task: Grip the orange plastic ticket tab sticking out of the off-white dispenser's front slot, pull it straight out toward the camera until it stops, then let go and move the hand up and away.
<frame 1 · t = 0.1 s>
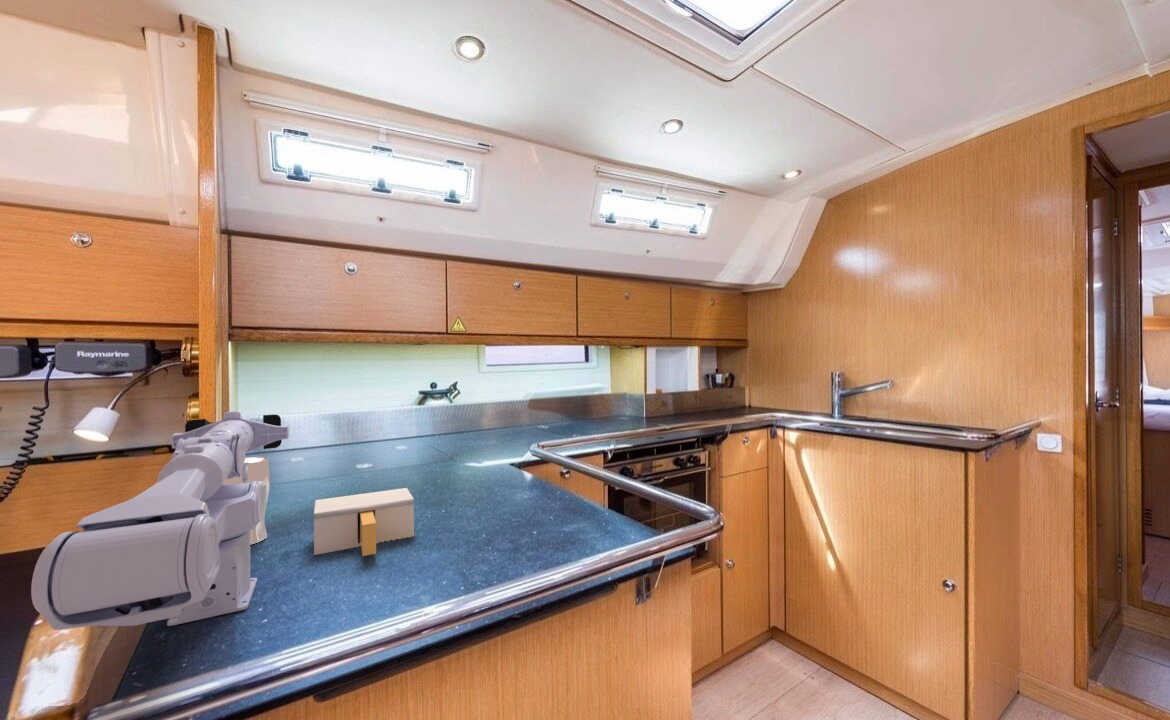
hand: (243, 426, 79), 22 cm above the countertop, tool horizontal, fingers open, 7 cm apart
beer glass: (246, 542, 82), on the countertop
dispenser: (364, 537, 84), on the countertop
ticket tab: (366, 526, 80), point 4 cm above the countertop, slide at 0.0 cm
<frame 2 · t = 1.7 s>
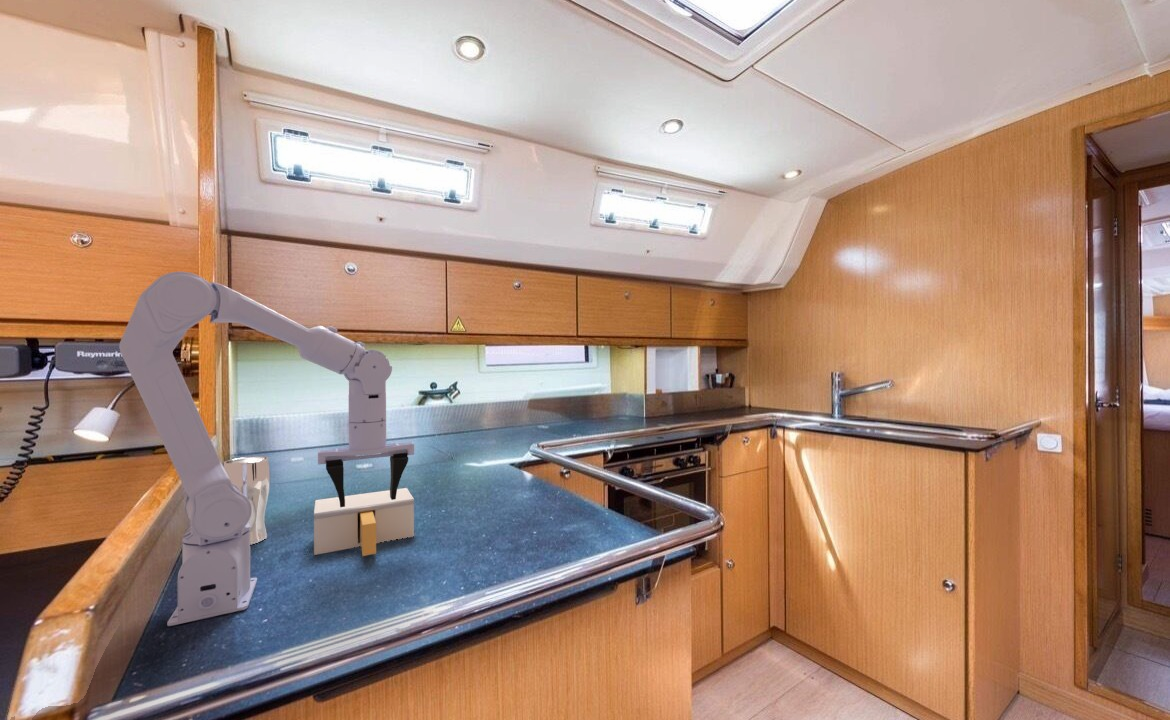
hand: (368, 501, 76), 9 cm above the countertop, tool pointing down, fingers open, 7 cm apart
nothing on the countertop moved.
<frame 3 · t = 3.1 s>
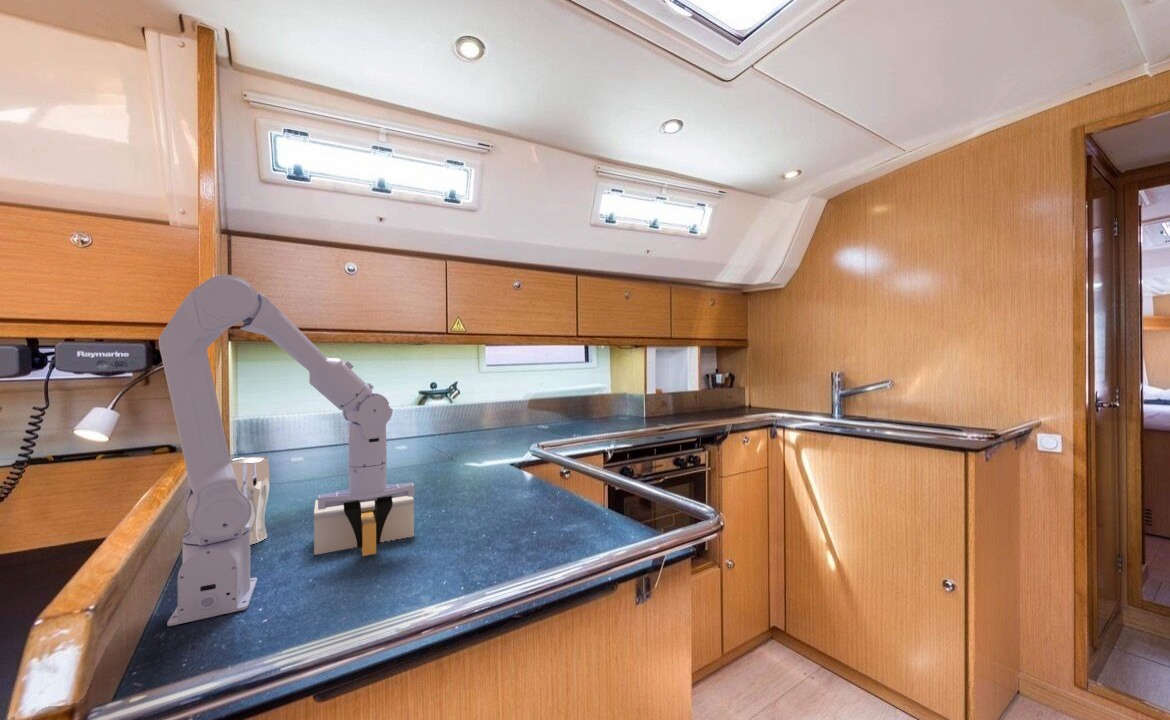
hand: (368, 544, 76), 2 cm above the countertop, tool pointing down, fingers closed on ticket tab, 2 cm apart
ticket tab: (366, 526, 80), point 4 cm above the countertop, slide at 0.0 cm, touching gripper
everything else where it was.
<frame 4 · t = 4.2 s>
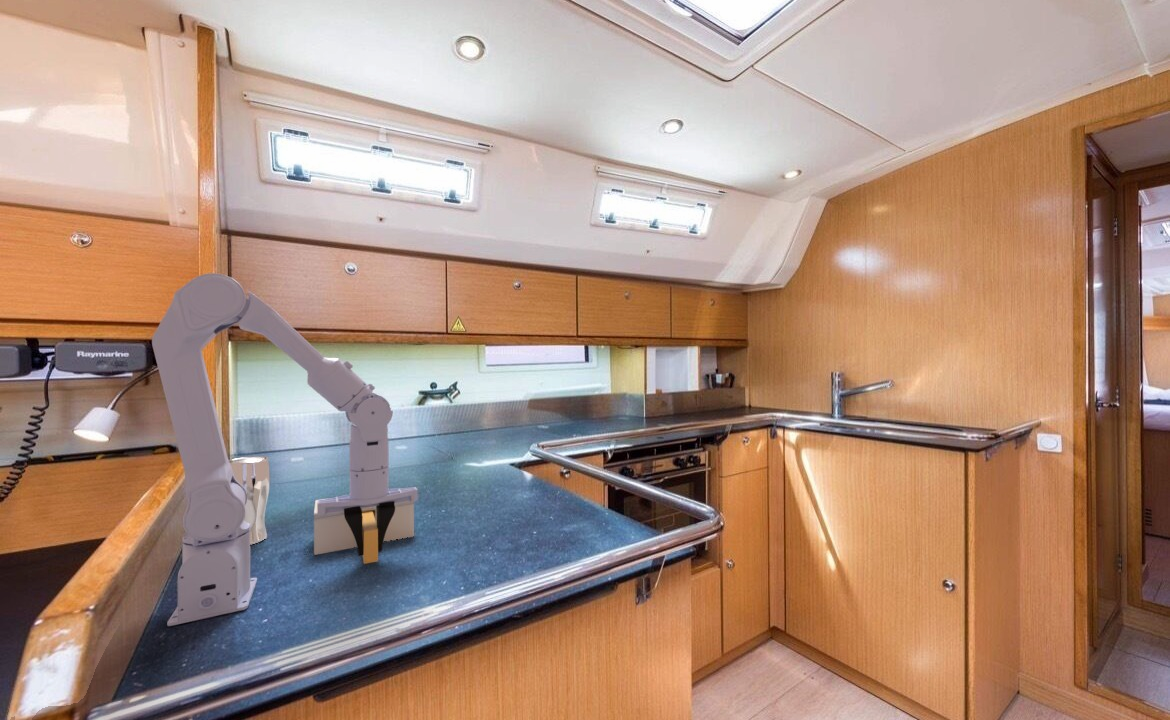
hand: (369, 551, 73), 2 cm above the countertop, tool pointing down, fingers closed on ticket tab, 2 cm apart
ticket tab: (367, 532, 77), point 4 cm above the countertop, slide at 3.4 cm, touching gripper
everything else where it was.
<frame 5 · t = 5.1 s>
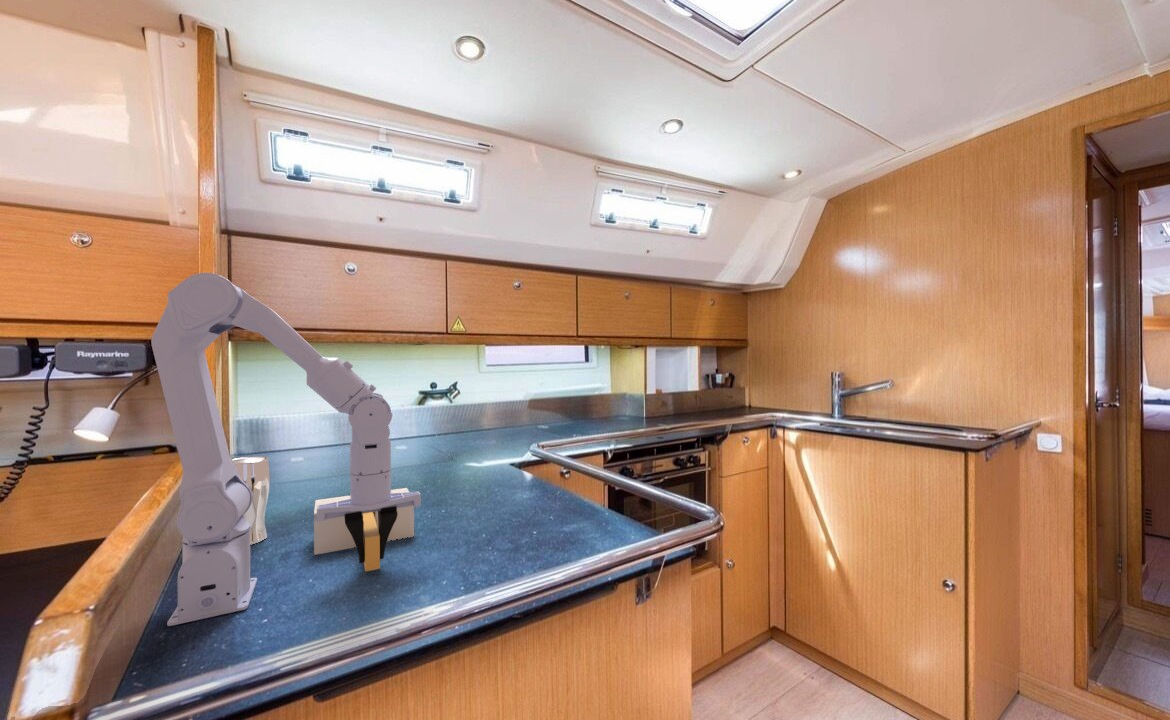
hand: (371, 558, 70), 2 cm above the countertop, tool pointing down, fingers closed on ticket tab, 2 cm apart
ticket tab: (369, 538, 74), point 4 cm above the countertop, slide at 6.5 cm, touching gripper
everything else where it was.
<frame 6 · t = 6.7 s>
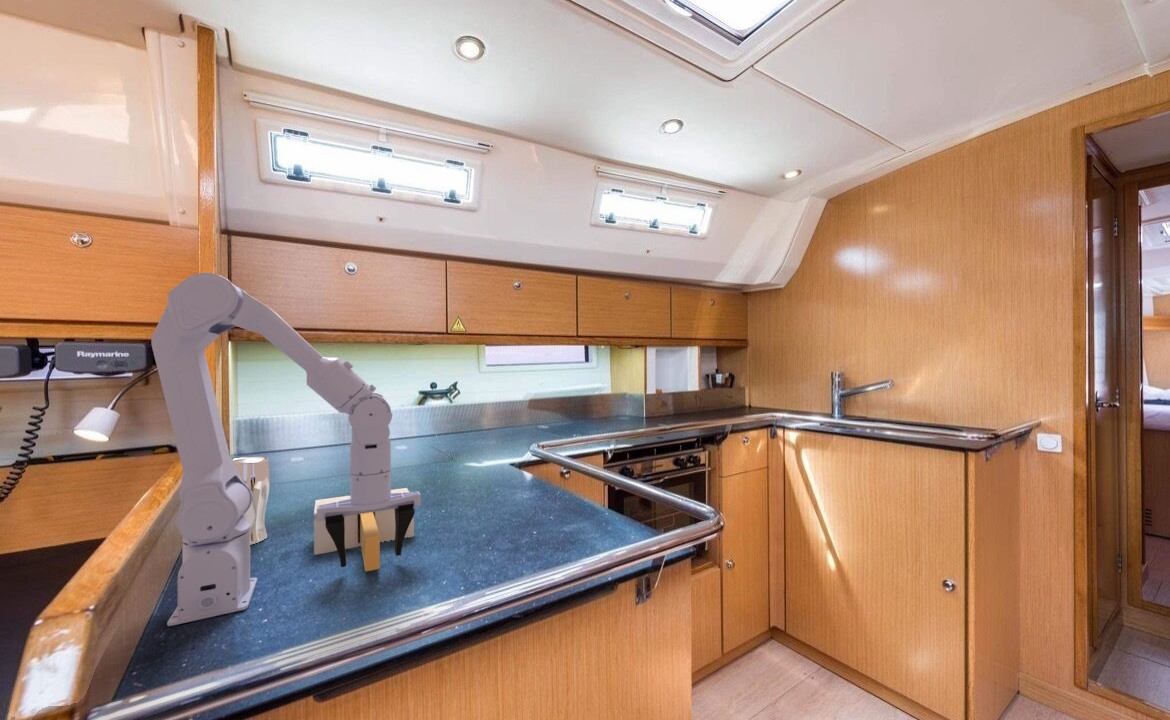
hand: (371, 558, 70), 2 cm above the countertop, tool pointing down, fingers open, 7 cm apart
ticket tab: (369, 538, 74), point 4 cm above the countertop, slide at 6.5 cm
everything else where it was.
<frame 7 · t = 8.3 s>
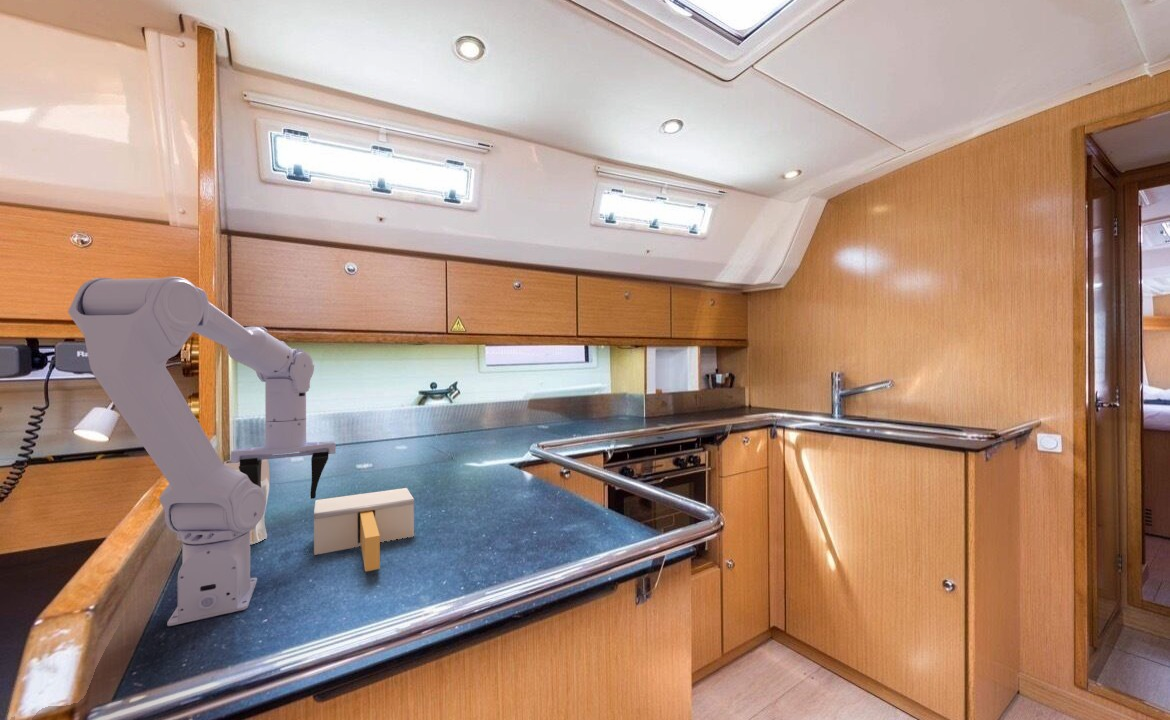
hand: (286, 500, 76), 9 cm above the countertop, tool pointing down, fingers open, 7 cm apart
nothing on the countertop moved.
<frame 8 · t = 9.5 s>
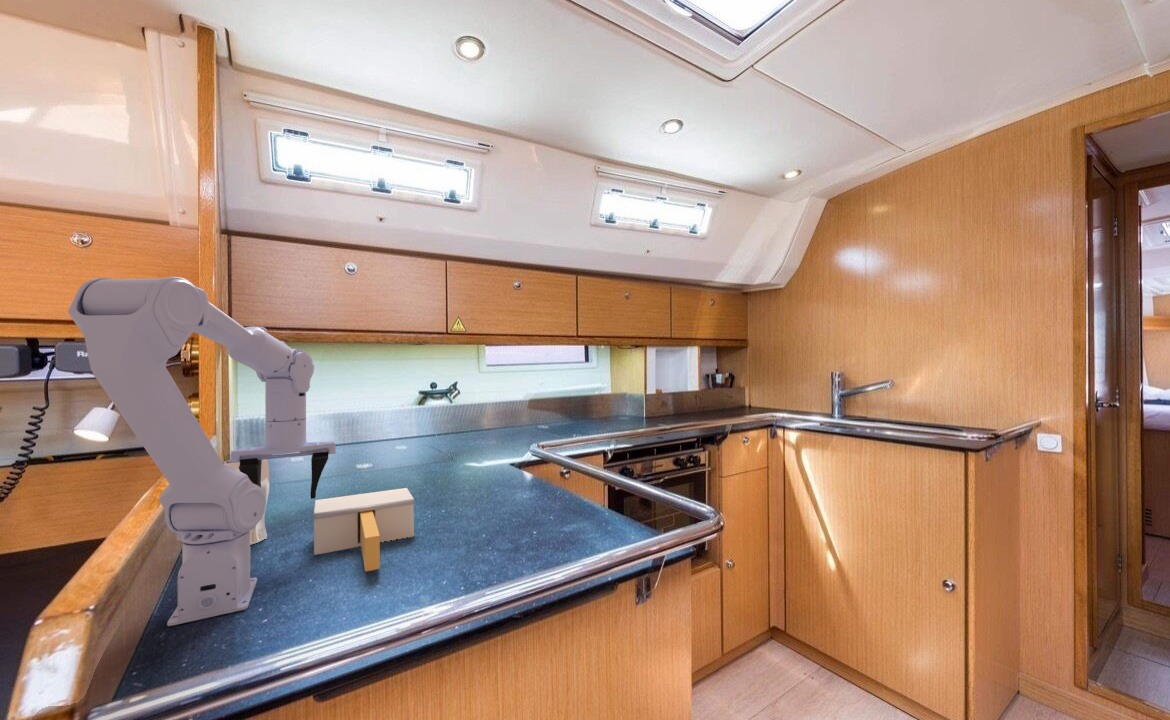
hand: (286, 500, 76), 9 cm above the countertop, tool pointing down, fingers open, 7 cm apart
nothing on the countertop moved.
at the end: ticket tab slide at 6.5 cm; the gripper is holding nothing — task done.
